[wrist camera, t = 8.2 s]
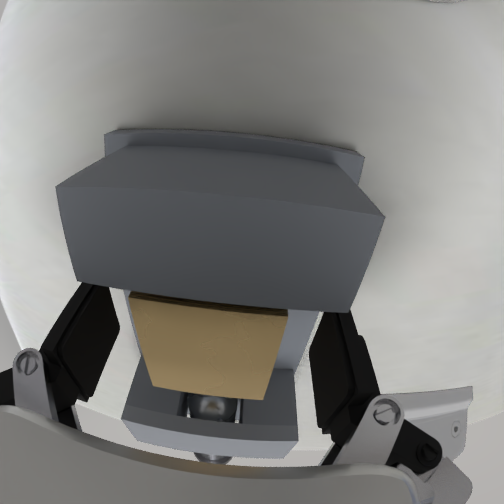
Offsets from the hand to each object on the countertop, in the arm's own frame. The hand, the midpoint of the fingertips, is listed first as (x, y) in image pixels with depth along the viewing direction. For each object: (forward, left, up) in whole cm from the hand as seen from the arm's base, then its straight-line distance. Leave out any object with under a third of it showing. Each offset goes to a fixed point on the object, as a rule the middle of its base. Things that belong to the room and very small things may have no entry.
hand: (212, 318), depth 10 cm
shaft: (+14, 0, -2) cm, 14 cm away
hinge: (+18, +22, -4) cm, 28 cm away
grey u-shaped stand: (+5, 0, -4) cm, 6 cm away
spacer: (0, 0, -2) cm, 2 cm away
